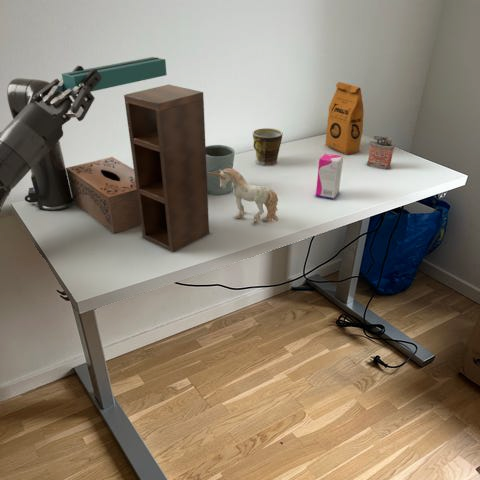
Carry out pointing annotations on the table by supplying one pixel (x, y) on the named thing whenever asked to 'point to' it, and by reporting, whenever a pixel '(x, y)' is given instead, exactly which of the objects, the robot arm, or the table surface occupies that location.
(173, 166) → the shelf
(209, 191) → the grey flower pot
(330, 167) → the supplement box
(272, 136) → the ceramic cup
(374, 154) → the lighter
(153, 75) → the pencil case
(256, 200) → the unicorn figurine
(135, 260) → the table surface
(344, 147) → the coffee package
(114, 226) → the tissue box cover
